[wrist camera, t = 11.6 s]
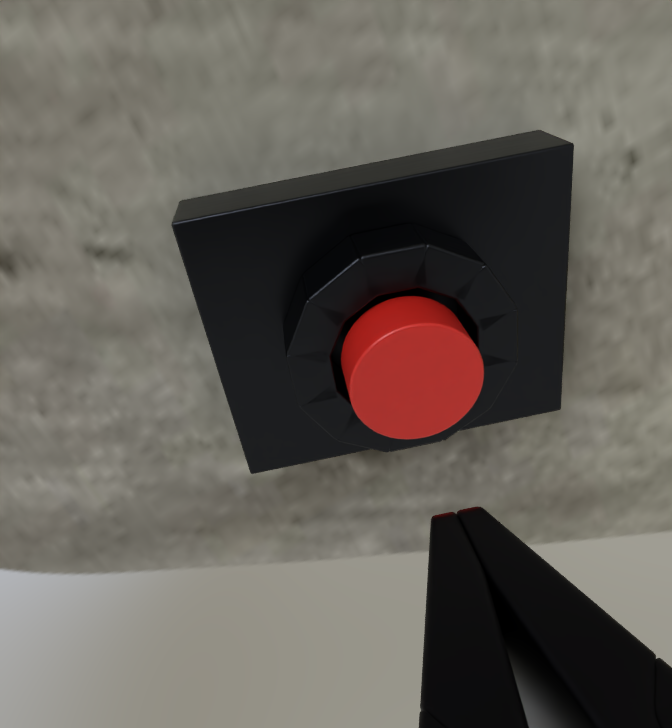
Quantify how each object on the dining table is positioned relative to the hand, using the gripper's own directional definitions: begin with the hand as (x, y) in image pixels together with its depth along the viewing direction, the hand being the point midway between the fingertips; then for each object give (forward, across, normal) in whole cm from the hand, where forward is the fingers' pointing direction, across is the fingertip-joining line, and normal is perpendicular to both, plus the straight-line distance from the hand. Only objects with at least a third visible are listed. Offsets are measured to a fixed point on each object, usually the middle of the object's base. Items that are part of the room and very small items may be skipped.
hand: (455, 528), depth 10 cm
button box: (+11, -1, +1) cm, 11 cm away
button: (+8, -1, +1) cm, 8 cm away
